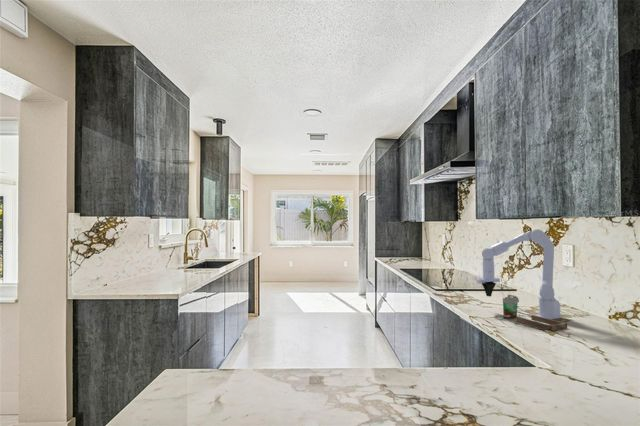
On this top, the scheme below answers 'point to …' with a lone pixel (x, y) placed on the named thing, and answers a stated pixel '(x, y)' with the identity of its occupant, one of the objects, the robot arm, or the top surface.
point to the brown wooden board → (554, 326)
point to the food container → (510, 307)
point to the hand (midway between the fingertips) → (488, 296)
